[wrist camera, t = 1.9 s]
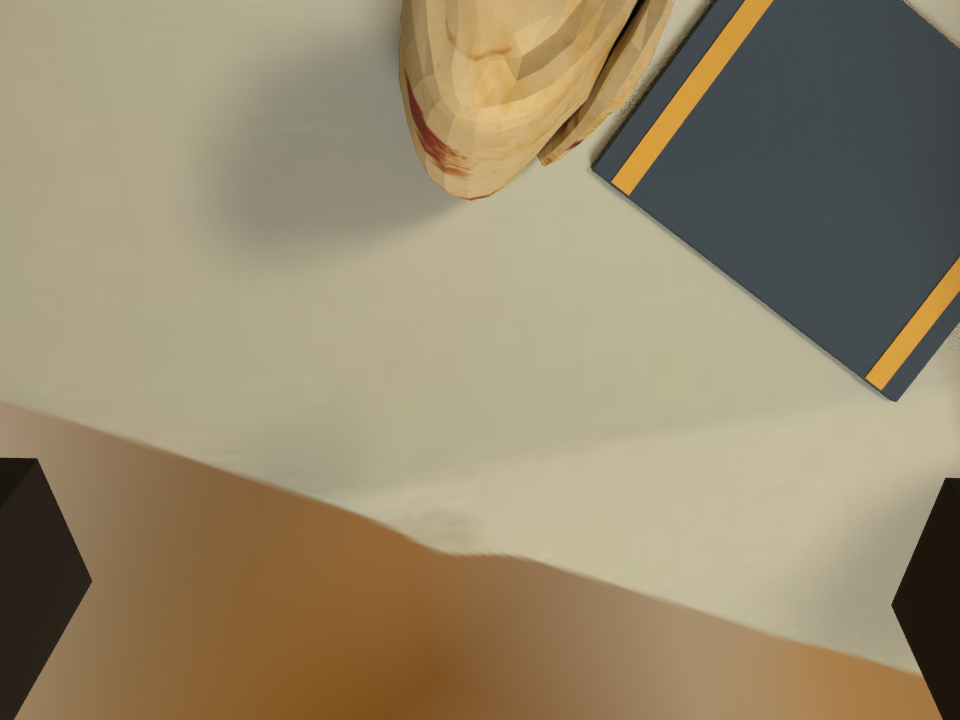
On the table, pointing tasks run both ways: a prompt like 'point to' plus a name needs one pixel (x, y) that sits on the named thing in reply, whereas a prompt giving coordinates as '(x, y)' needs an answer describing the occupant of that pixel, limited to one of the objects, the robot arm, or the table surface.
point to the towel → (814, 170)
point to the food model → (516, 80)
